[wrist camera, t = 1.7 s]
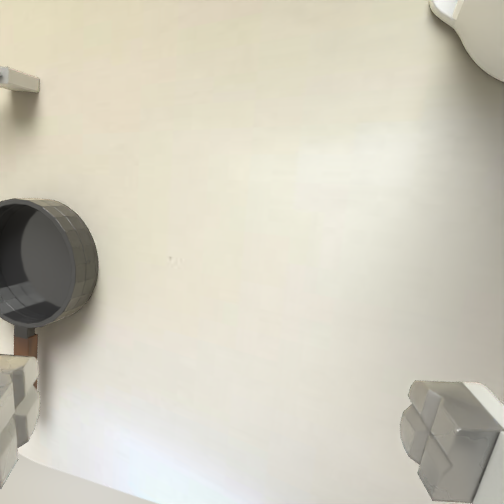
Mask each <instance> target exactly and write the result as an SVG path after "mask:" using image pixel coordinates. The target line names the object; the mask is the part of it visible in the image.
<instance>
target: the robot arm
mask: <svg viewBox="0 0 504 504" xmlns="http://www.w3.org/2000/svg"><path fill="white" fill-rule="evenodd" d="M429 4H430V8H431V10H432V12H433V13H434V14H435V15H436V16H437V17H438V18H440V19H441V20H442V21H444V22H445V23H446V24H448V25H449V26H451V27H452V28H454V30H455V31H456V32H457V34H458V36H459V37H460V39H461V41H462V43H463V45H464V47H465V49H466V51H467V52H468V54H469V55H470V57H471V58H472V59H473V61H474V62H475V63H476V64H477V65H478V66H479V67H480V68H481V69H482V70H484V71H485V72H486V73H488V74H489V75H491V76H492V77H494V78H496V79H498V80H500V81H502V82H504V0H430V2H429ZM38 376H39V367H38V361H37V359H36V358H35V357H30V356H18V355H5V354H0V489H2V487H3V485H4V483H5V482H6V480H7V478H8V476H9V474H10V473H11V471H12V469H13V467H14V466H15V464H16V462H17V461H18V450H17V448H19V447H20V446H22V445H24V444H25V443H27V442H28V441H29V439H30V437H31V436H32V434H33V432H34V430H35V427H36V424H37V420H38V417H39V411H40V393H39V391H38V390H37V389H36V388H35V387H34V386H33V384H34V382H35V381H36V379H37V378H38ZM408 397H409V399H410V401H411V403H412V404H411V405H410V406H409V407H408V408H407V409H406V410H405V411H404V412H403V415H402V419H401V423H400V433H401V440H402V443H403V447H404V449H405V451H406V453H407V455H408V456H409V457H410V458H411V459H413V460H414V461H415V462H417V463H418V464H419V465H420V466H419V470H418V475H419V477H420V479H421V480H422V482H423V484H424V486H425V488H426V490H427V491H428V493H429V495H430V497H431V499H432V501H448V502H465V503H472V504H504V404H503V403H502V402H501V401H500V400H499V399H498V398H497V397H496V396H495V395H494V394H493V393H492V392H491V391H490V390H489V389H488V388H487V387H486V386H485V385H483V384H481V383H479V382H438V381H416V380H415V381H414V383H413V384H412V385H411V387H410V391H409V394H408Z"/></svg>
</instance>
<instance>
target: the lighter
mask: <svg viewBox="0 0 504 504" xmlns="http://www.w3.org/2000/svg"><path fill="white" fill-rule="evenodd" d="M0 87H2V88H5V89H9V90H12V91H23V92H34V93H38V92H39V78H38V77H35V76H32V75H29V74H27V73H24V72H21V71H18V70H15V69H12V68H9V67H0Z"/></svg>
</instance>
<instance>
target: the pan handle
mask: <svg viewBox="0 0 504 504" xmlns="http://www.w3.org/2000/svg"><path fill="white" fill-rule="evenodd" d="M37 346H38V335H37V334H35V328H27V327H21V326H17V325H14V355H18V356H30V357H35V358H36V359H37ZM33 386H34V387H35V388H36V389H37V379H36V381H35V382H34V384H33Z"/></svg>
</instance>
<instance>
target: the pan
mask: <svg viewBox="0 0 504 504" xmlns="http://www.w3.org/2000/svg"><path fill="white" fill-rule="evenodd" d="M97 275H98V257H97V251H96V247H95V243H94V241H93V238H92V235H91V233H90V231H89V229H88V228H87V226H86V225H85V223H84V222H83V221H82V219H81V218H80V217H79V216H78V215H77V214H76V213H75V212H74V211H73V210H71V209H70V208H69V207H67V206H66V205H64V204H62V203H60V202H57V201H54V200H50V199H40V198H14V199H9V200H4V201H1V202H0V317H1V318H2V319H4V320H6V321H7V322H9V323H11V324H13V325H17V326H21V327H27V328H37V327H43V326H45V325H48V324H50V323H53V322H55V321H58V320H61V319H63V318H65V317H68V316H70V315H72V314H74V313H76V312H77V311H78V310H80V309H81V308H82V307H83V306H84V305H85V304H86V303H87V301H88V300H89V298H90V297H91V295H92V293H93V290H94V288H95V285H96V281H97Z"/></svg>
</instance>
